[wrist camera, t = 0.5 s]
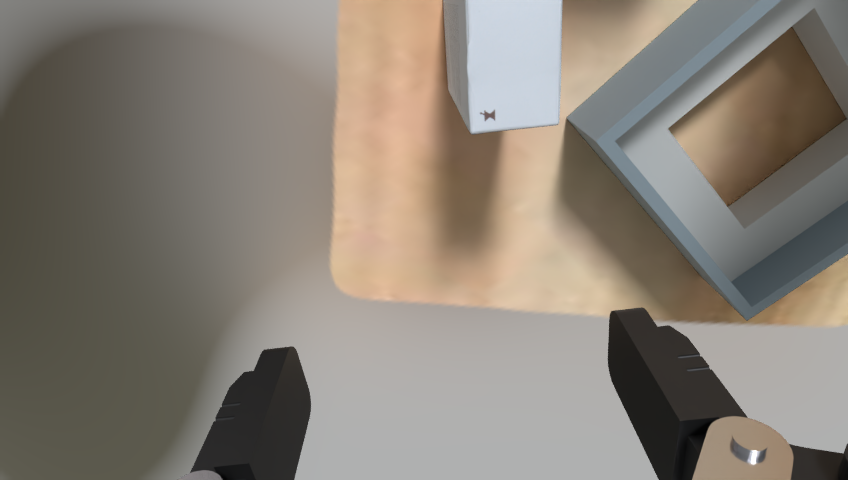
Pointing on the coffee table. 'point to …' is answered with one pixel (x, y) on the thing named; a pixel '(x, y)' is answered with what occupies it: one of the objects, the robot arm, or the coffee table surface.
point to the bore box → (684, 183)
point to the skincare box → (504, 62)
